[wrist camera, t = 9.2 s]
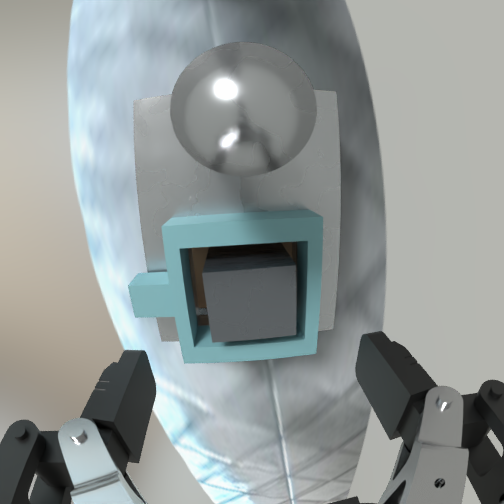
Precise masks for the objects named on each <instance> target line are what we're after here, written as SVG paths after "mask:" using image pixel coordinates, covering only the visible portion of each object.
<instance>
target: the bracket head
mask: <svg viewBox="0 0 504 504" xmlns="http://www.w3.org/2000/svg"><path fill="white" fill-rule="evenodd" d="M161 227H162V236H163V244H164V252H165V259H166V267H167V272H153V273H138V274H137V275H136V277H135V278H134V279H133V280H132V282H131V283H130V284H129V285H128V288H129V293H130V297H131V302H132V306H133V310H134V315H135V317H175V321H176V326H177V331H178V336H179V341H180V346H181V351H182V356H183V360H184V363H219V362H238V361H253V360H265V359H276V358H285V357H294V356H302V355H310V354H316V350H317V339H318V327H319V314H320V298H321V279H322V254H323V217H322V216H321V215H319V214H317V213H315V212H313V211H311V210H290V211H267V212H247V213H230V214H215V215H200V216H187V217H174V218H171V219H169V220H168V221H167V222H166V223H165V224H164V225H162V226H161ZM295 241H297V305H296V335H291V336H283V337H274V338H264V339H254V340H243V341H230V342H215V343H212V337H211V331H210V325H207V326H198V322H197V316H196V309H195V302H194V294H193V287H192V279H191V271H190V262H189V253H188V248H197V247H212V246H228V245H244V244H261V243H278V242H295Z"/></svg>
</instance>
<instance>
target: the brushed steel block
mask: <svg viewBox="0 0 504 504" xmlns="http://www.w3.org/2000/svg"><path fill="white" fill-rule="evenodd" d="M202 277H203V284H204V291H205V298H206V305H207V312H208V318H209V325H210V331H211V337H212V343H215V342H230V341H243V340H254V339H264V338H274V337H283V336H291V335H296V264H295V263H294V261H293V260H292V258H291V257H290V255H289V253H288V252H287V250H286V249H285V247H284V246H283V244H282V243H281V242H278V243H261V244H244V245H228V246H212V247H209V249H208V253H207V256H206V260H205V264H204V268H203V271H202Z"/></svg>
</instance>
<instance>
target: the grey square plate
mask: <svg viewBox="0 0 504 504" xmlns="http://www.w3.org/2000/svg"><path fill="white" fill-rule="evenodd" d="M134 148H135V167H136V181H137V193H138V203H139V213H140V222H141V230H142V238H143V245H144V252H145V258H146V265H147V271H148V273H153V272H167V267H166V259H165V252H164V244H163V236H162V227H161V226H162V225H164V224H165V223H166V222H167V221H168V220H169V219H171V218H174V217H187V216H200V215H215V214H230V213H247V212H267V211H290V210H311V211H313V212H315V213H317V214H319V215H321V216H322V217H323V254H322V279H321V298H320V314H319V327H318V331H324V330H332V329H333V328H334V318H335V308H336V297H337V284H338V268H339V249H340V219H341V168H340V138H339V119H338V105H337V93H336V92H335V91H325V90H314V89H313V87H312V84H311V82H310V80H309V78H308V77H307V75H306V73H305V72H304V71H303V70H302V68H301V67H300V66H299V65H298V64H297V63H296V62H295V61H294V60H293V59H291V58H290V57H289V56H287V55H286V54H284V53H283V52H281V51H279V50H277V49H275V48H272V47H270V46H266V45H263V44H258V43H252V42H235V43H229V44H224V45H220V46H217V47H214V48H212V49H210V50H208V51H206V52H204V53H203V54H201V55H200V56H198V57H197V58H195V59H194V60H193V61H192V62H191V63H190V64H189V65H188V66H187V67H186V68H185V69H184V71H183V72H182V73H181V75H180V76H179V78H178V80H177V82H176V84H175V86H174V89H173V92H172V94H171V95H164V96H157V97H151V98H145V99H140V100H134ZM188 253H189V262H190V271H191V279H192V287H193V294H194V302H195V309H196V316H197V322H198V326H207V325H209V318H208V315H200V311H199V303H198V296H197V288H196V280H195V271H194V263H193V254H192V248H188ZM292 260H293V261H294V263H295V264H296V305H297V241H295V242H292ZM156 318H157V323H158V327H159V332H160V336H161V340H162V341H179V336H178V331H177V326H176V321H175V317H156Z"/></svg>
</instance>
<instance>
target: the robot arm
mask: <svg viewBox="0 0 504 504" xmlns="http://www.w3.org/2000/svg"><path fill="white" fill-rule="evenodd" d="M356 377H357V380H358V382H359V384H360V385H361V387H362V389H363V391H364V393H365V395H366V396H367V398H368V400H369V402H370V404H371V406H372V407H373V409H374V411H375V413H376V415H377V417H378V418H379V420H380V422H381V424H382V426H383V428H384V430H385V432H386V433H387V435H388V437H389V439H390V440H392V439H395V438H398V437H402V439H403V442H402V444H401V447H400V450H399V454H398V457H397V460H396V463H395V466H394V469H393V472H392V475H391V478H390V481H389V483H388V486H387V488H386V490H385V491H384V493H383V495H382V497H381V498H380V500H379V502H378V504H461V503H462V498H463V493H464V487H465V481H466V475H467V476H468V478H469V480H470V482H471V484H472V486H473V488H474V490H475V492H476V494H477V496H478V498H479V500H480V502H481V504H504V451H503V456H502V457H501V456H500V455H499V453H498V452H497V450H496V449H495V447H494V445H493V444H492V443H491V441H490V439H489V438H488V436H487V434H488V433H489V431H490V430H491V429H492V431H493V432H494V434H495V435H496V437H497V438H498V440H499V441H500V442H501V444H502V446H503V450H504V383H502V382H500V381H497V380H488V381H486V382H484V383H483V384H482V386H481V387H480V389H479V391H478V393H474V394H468V395H460V393H459V392H458V391H456V390H455V389H453V388H451V387H447V386H437V385H436V383H435V382H434V381H433V380H432V379H431V377H430V376H429V375H428V374H427V372H426V371H425V370H424V369H423V368H422V367H421V365H420V364H418V363H417V361H416V359H415V358H414V357H412V355H411V354H410V352H409V351H408V350H407V349H406V348H405V347H404V346H402V345H400V344H398V343H397V342H395V341H393V342H391V341H390V340H389V338H388V337H387V336H386V335H385V334H384V333H383V332H382V331H379V332H374V333H368V334H363V335H362V337H361V340H360V346H359V351H358V357H357V362H356ZM155 397H156V383H155V379H154V376H153V373H152V370H151V367H150V363H149V360H148V357H147V354H146V352H145V351H144V350H125V351H124V352H123V354H122V356H121V358H120V360H119V362H118V363H116V362H113V363H112V364H111V365H110V366H108V367H107V368H106V369H105V370H104V371H103V373H102V375H101V377H100V379H99V382H98V383H97V384H96V386H95V390H94V391H93V392H92V394H91V396H90V398H89V400H88V402H87V404H86V406H85V408H84V410H83V413H82V415H81V417H80V418H75V419H72V420H69V421H68V422H66V423H65V424H64V425H63V426H62V427H61V428H60V430H59V431H39V430H38V428H37V427H36V425H35V424H34V423H33V422H31V421H29V420H19V421H16V422H15V423H13V424H12V425H11V426H10V427H9V429H8V430H7V432H6V434H5V435H4V438H3V439H2V441H1V443H0V504H71V499H72V500H73V503H74V504H148V503H147V502H146V501H145V499H144V497H143V496H142V495H141V493H140V491H139V490H138V488H137V487H136V485H135V484H134V482H133V480H132V479H131V477H130V476H129V474H128V472H127V471H126V467H127V463H128V462H133V463H139V461H140V456H141V451H142V448H143V444H144V440H145V435H146V431H147V427H148V423H149V420H150V416H151V412H152V408H153V404H154V401H155ZM34 474H36V475H37V479H36V481H35V484H34V487H33V490H32V493H31V496H30V500H29V499H28V492H29V489H30V486H31V483H32V480H33V477H34ZM329 504H375V503H359V500H358V497H357V496H356V497H352V498H349V499H345V500H341V501H337V502H333V503H329Z"/></svg>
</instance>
